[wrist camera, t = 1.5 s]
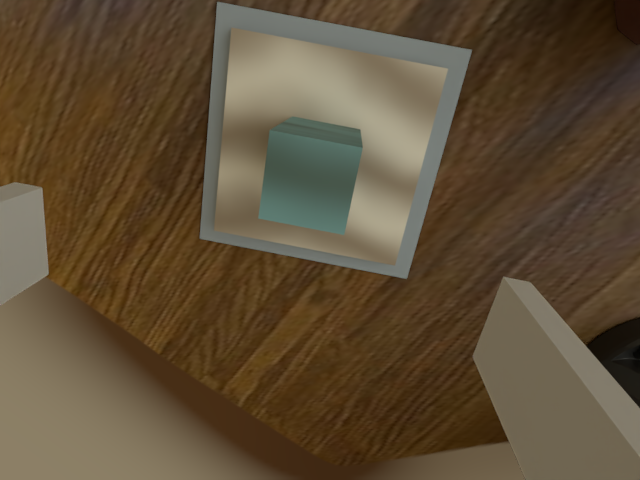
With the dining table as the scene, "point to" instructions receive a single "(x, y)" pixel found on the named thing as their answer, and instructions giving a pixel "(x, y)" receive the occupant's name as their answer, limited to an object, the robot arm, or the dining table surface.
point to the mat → (344, 39)
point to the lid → (322, 145)
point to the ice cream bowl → (628, 18)
